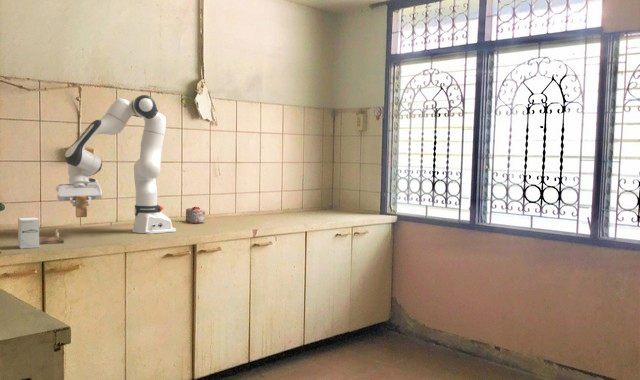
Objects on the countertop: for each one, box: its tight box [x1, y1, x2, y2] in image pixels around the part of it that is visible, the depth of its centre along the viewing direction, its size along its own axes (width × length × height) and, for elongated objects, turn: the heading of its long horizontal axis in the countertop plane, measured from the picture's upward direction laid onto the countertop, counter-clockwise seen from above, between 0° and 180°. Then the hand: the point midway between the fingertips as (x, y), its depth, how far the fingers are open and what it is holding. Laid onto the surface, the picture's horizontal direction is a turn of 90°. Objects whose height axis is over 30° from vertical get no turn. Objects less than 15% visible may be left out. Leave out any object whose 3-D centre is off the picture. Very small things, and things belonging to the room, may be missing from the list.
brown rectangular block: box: [74, 196, 88, 218], centre depth 258 cm, size 4×7×10 cm, turn 28°
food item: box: [185, 206, 206, 225], centre depth 320 cm, size 14×8×10 cm, turn 45°
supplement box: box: [17, 217, 40, 250], centre depth 232 cm, size 7×7×13 cm
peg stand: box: [39, 228, 65, 245], centre depth 246 cm, size 14×14×5 cm
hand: (81, 205), depth 258 cm, fingers closed on brown rectangular block, 4 cm apart
